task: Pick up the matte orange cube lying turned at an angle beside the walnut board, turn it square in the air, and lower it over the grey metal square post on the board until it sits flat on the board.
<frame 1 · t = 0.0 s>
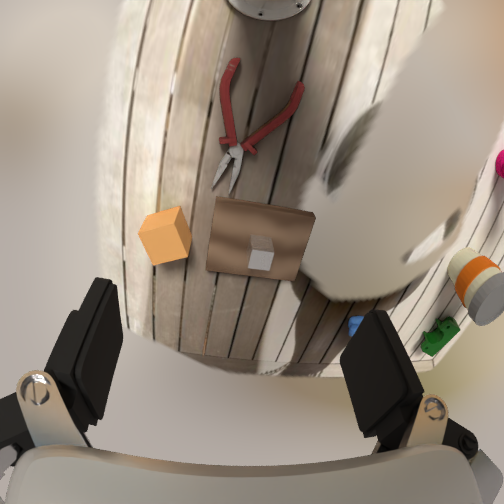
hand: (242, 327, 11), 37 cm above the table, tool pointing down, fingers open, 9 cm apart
reusable coffee cup: (461, 262, 58), on the table
grapes: (353, 319, 65), on the table
clamp: (433, 326, 70), on the table
board: (257, 238, 51), on the table
matte orange cube: (169, 226, 49), on the table
pliers: (237, 119, 41), on the table
pepper mill: (503, 162, 44), on the table
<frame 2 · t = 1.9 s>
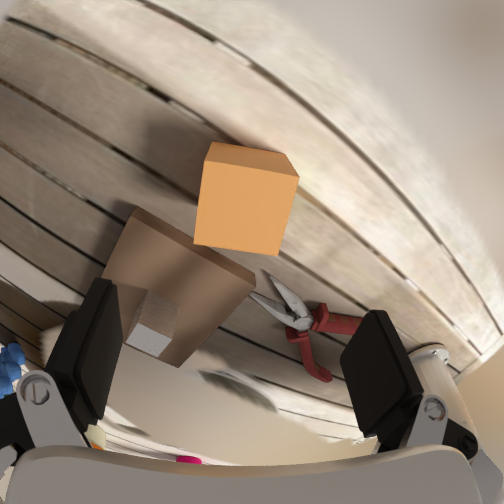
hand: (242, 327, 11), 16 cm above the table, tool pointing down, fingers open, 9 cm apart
reusable coffee cup: (88, 426, 52), on the table
grapes: (14, 339, 36), on the table
board: (160, 295, 31), on the table
matte orange cube: (242, 181, 25), on the table
pliers: (329, 320, 35), on the table
pepper mill: (189, 458, 60), on the table
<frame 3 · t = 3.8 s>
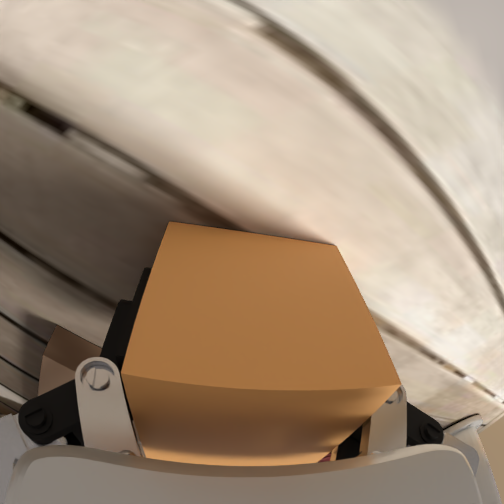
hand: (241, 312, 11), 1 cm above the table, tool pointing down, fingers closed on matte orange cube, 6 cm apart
board: (125, 419, 18), on the table
matte orange cube: (241, 298, 12), on the table, touching gripper
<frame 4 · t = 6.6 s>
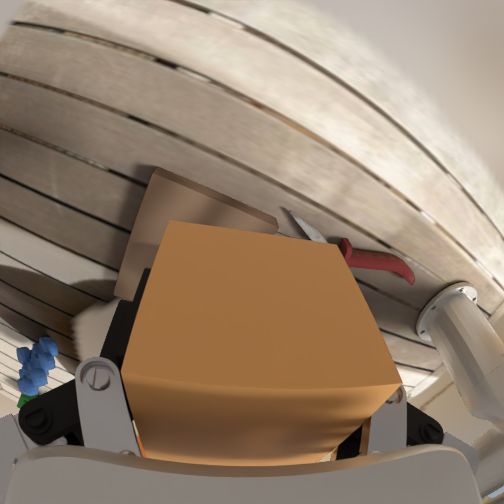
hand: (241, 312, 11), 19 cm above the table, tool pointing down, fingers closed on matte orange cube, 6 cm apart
grapes: (45, 334, 40), on the table
clamp: (44, 395, 52), on the table
board: (187, 254, 33), on the table
matte orange cube: (241, 297, 12), point 19 cm above the table, touching gripper
pliers: (353, 258, 35), on the table
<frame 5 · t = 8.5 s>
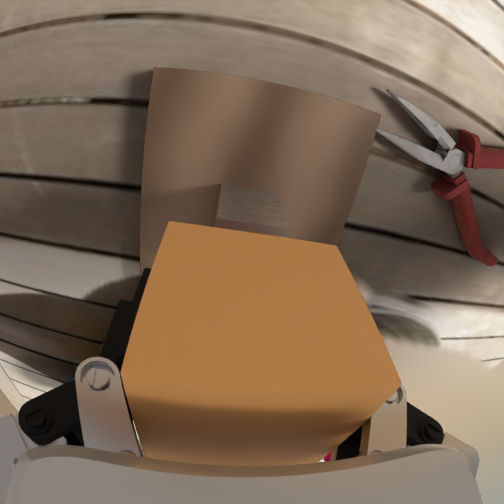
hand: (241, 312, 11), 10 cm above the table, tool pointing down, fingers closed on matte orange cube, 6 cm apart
board: (244, 200, 20), on the table
matte orange cube: (241, 298, 12), point 10 cm above the table, touching gripper
pliers: (474, 162, 19), on the table
when the fingers open (4 cm above the table, at t = 10.2 s): matte orange cube stays where it is, resting on board.
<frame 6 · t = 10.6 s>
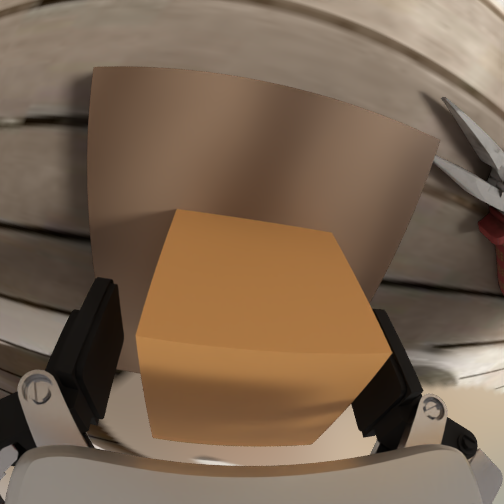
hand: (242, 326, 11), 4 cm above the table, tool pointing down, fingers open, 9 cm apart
board: (239, 256, 14), on the table
matte orange cube: (242, 283, 13), point 2 cm above the table, touching board
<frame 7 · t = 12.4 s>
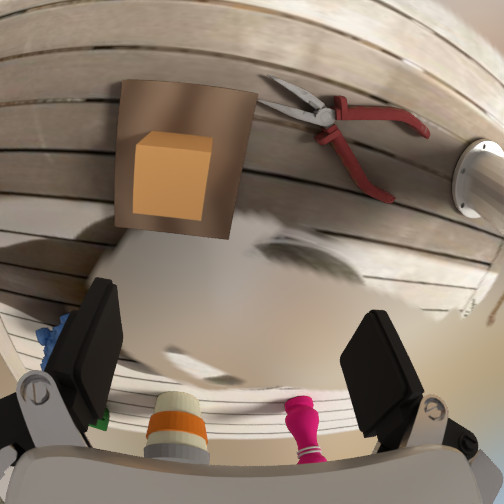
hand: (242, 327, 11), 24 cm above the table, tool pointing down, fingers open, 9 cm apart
reusable coffee cup: (178, 401, 56), on the table
grapes: (66, 313, 40), on the table
clamp: (88, 398, 55), on the table
board: (179, 157, 30), on the table
matte orange cube: (178, 163, 28), point 2 cm above the table, touching board
pliers: (356, 120, 30), on the table
pepper mill: (298, 401, 60), on the table
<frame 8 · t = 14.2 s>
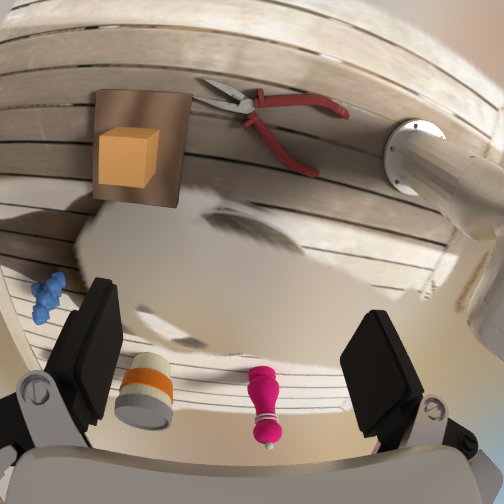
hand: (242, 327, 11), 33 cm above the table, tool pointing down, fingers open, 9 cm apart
reusable coffee cup: (151, 363, 64), on the table
grapes: (58, 274, 49), on the table
board: (139, 145, 38), on the table
matte orange cube: (136, 149, 36), point 2 cm above the table, touching board
pliers: (279, 107, 37), on the table
pepper mill: (261, 372, 68), on the table
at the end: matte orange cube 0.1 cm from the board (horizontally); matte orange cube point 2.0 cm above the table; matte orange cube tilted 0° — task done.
